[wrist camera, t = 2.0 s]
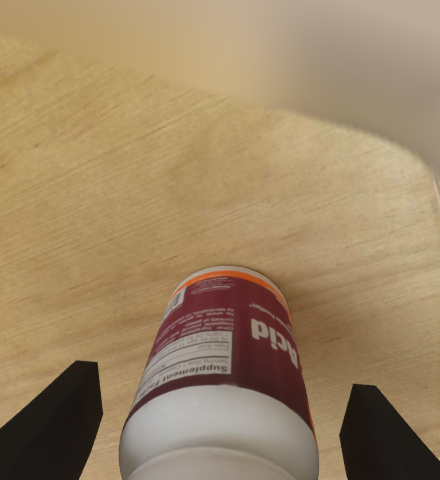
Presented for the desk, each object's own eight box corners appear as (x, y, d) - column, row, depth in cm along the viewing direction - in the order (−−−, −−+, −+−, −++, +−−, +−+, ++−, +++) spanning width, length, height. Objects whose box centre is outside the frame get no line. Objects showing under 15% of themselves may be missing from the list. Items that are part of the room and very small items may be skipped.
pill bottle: (307, 341, 14) (383, 642, 7) (201, 375, 15) (158, 670, 8) (260, 241, 13) (288, 484, 5) (145, 287, 14) (20, 547, 6)
